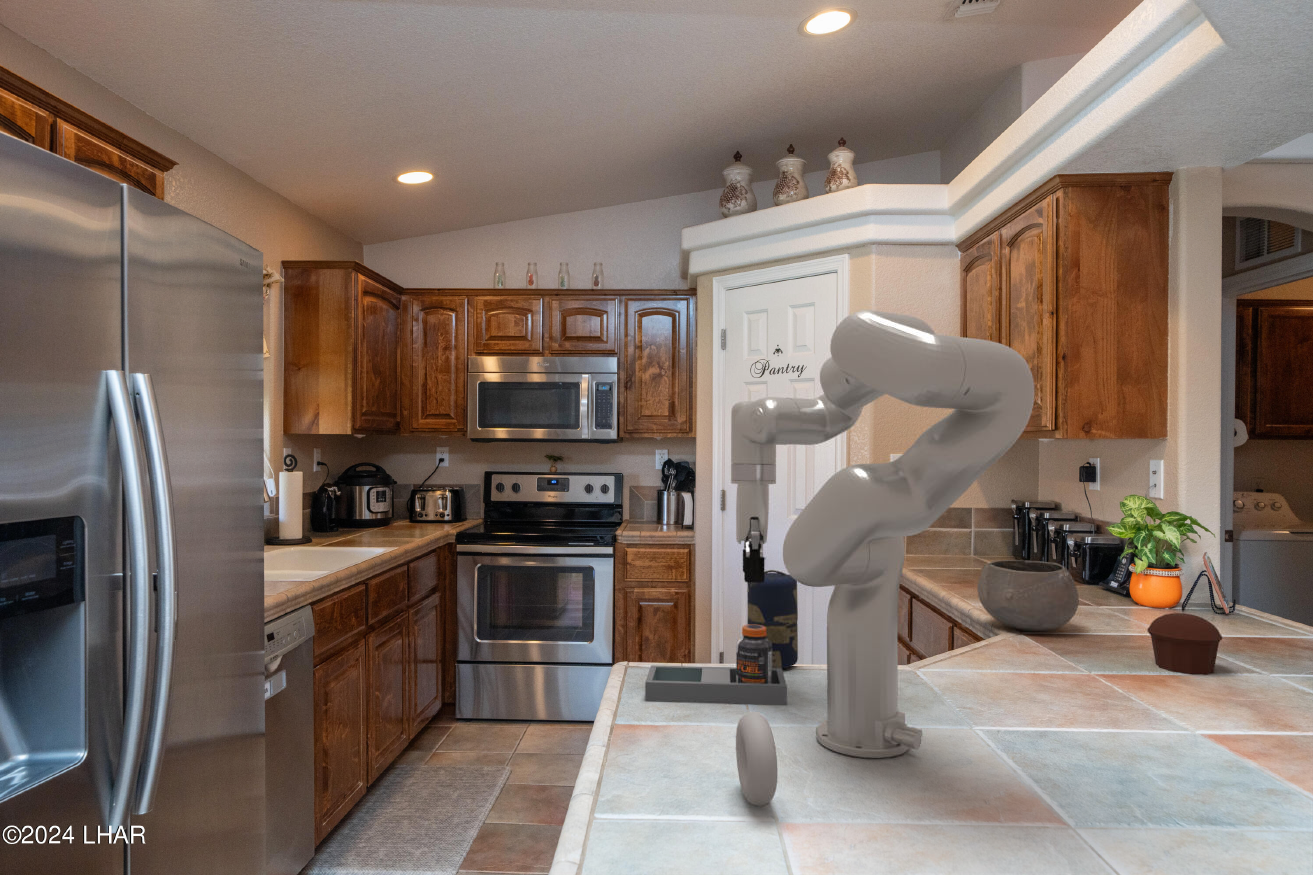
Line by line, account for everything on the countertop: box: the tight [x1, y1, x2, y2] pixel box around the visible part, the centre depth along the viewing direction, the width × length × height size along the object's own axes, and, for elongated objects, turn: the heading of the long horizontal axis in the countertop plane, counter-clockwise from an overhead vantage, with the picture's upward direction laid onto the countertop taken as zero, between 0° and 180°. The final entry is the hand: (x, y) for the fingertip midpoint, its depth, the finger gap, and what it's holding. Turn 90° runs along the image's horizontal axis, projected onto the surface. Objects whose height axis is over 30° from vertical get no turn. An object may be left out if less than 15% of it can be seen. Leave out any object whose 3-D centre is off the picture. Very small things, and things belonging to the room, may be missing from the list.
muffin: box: [1147, 612, 1223, 676], centre depth 143 cm, size 12×11×10 cm
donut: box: [735, 711, 778, 807], centre depth 87 cm, size 10×4×10 cm, turn 5°
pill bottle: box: [735, 624, 772, 684], centre depth 126 cm, size 6×6×11 cm
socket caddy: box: [644, 664, 788, 706], centre depth 127 cm, size 23×10×3 cm, turn 85°
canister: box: [746, 569, 799, 669], centre depth 144 cm, size 10×10×18 cm
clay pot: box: [976, 559, 1080, 632], centre depth 176 cm, size 21×21×15 cm
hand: (753, 577), depth 127 cm, fingers open, 9 cm apart
